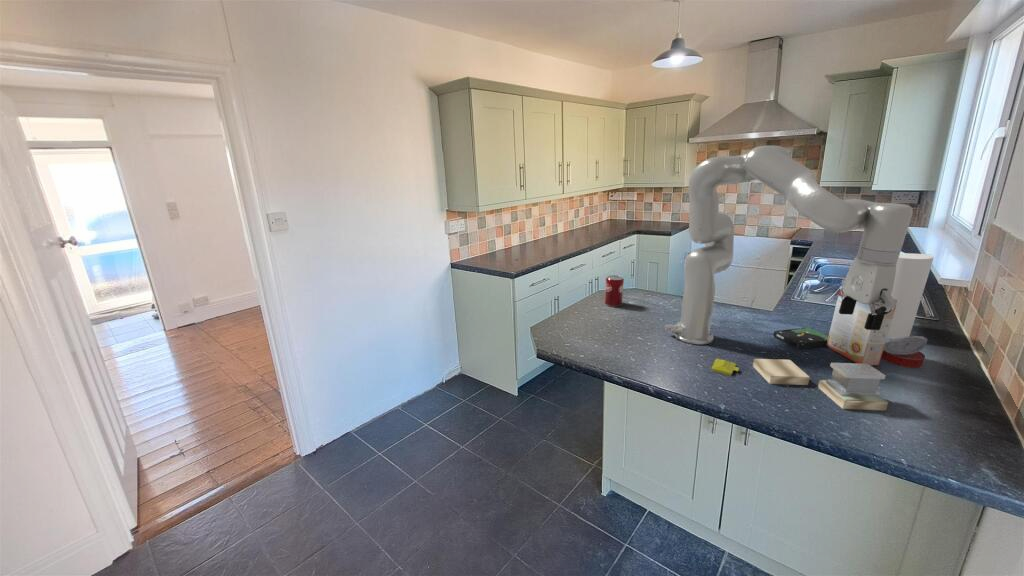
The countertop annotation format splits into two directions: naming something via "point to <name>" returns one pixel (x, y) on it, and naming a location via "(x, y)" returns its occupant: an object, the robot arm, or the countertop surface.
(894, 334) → the cylinder
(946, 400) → the countertop surface
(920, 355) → the canned food
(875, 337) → the cracker box
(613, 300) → the soda can
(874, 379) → the housing
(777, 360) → the stand
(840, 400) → the stand
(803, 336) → the disk drive
